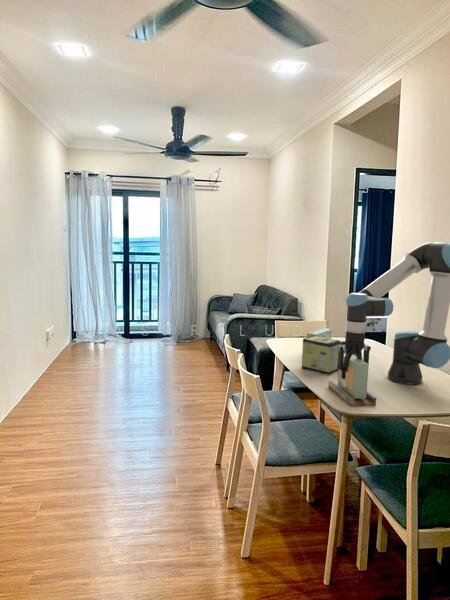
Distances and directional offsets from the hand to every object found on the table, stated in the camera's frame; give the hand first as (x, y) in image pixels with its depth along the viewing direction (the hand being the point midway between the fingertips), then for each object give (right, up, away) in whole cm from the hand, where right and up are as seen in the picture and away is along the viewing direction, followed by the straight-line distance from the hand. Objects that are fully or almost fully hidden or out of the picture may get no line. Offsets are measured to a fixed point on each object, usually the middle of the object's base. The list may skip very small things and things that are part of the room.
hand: (351, 386), depth 179 cm
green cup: (+11, +1, +46) cm, 47 cm away
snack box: (-1, +4, +61) cm, 61 cm away
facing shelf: (0, -4, +1) cm, 4 cm away
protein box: (-5, 0, +37) cm, 37 cm away
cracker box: (0, -2, 0) cm, 2 cm away
